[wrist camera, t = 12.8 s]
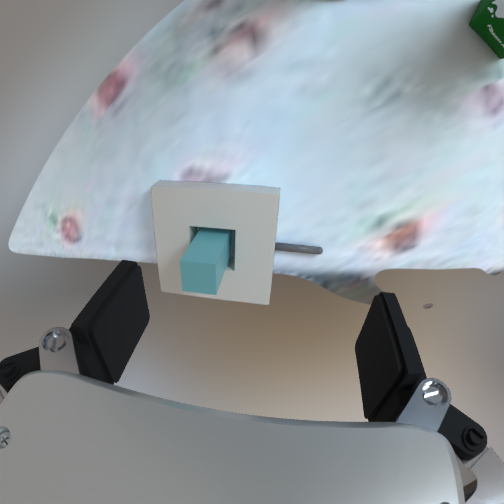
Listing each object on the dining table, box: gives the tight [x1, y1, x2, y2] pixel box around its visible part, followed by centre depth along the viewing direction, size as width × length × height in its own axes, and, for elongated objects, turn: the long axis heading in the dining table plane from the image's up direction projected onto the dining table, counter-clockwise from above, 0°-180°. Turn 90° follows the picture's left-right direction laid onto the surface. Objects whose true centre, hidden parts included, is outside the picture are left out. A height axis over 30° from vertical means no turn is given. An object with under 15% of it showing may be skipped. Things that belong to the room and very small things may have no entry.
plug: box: [180, 227, 232, 295], centre depth 37 cm, size 4×4×10 cm
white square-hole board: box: [151, 180, 323, 305], centre depth 40 cm, size 22×16×3 cm
